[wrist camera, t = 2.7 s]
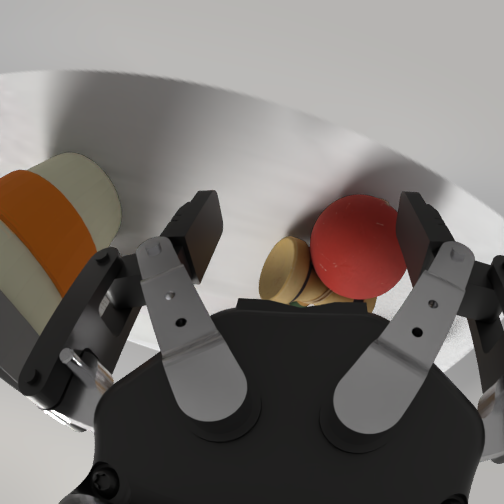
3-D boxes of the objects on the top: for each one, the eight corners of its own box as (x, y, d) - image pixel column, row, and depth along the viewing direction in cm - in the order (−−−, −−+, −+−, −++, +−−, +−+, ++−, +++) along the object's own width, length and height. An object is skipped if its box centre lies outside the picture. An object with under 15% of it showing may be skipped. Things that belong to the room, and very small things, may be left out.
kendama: (291, 332, 29) (435, 230, 16) (270, 384, 25) (445, 302, 12) (229, 290, 29) (348, 151, 16) (198, 340, 24) (332, 202, 11)
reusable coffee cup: (142, 274, 25) (67, 422, 14) (44, 237, 25) (-37, 345, 13) (143, 142, 17) (-35, 322, 5) (25, 125, 17) (-109, 231, 5)
